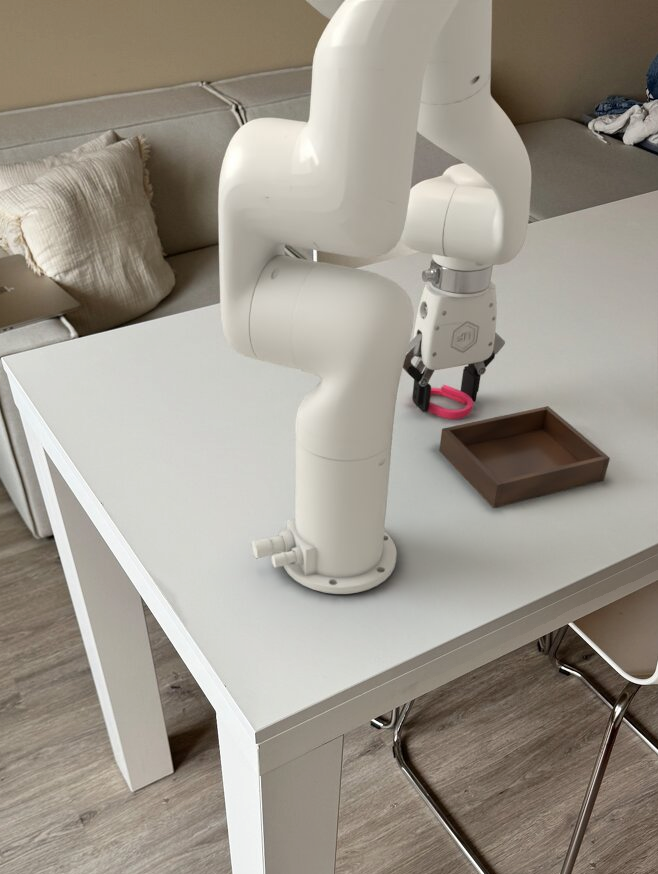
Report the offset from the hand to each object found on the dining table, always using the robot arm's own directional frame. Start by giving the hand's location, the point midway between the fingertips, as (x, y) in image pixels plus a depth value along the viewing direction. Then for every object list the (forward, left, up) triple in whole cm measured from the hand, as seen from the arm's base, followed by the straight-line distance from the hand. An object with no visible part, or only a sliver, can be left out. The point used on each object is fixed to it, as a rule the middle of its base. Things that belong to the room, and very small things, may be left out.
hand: (444, 401), depth 122 cm
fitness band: (0, 0, -1) cm, 1 cm away
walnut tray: (+2, -17, -1) cm, 17 cm away
